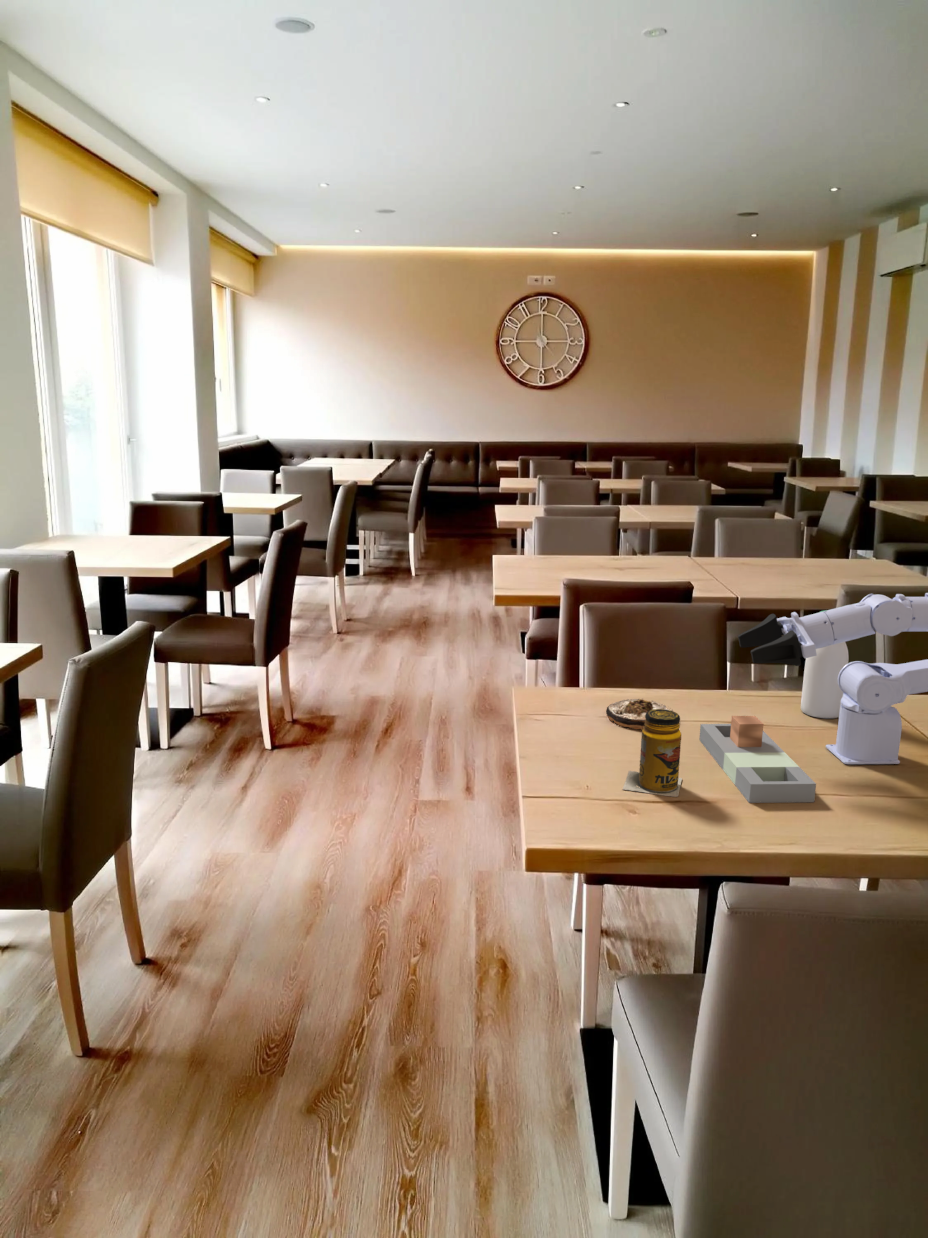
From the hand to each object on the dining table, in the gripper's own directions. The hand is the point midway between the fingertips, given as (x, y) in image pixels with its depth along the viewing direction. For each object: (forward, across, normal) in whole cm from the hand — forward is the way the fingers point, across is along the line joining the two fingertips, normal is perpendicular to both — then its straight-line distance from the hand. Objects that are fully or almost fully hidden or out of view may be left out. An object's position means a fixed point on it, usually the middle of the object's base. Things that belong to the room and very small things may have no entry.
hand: (745, 649), depth 156 cm
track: (+4, +8, +18) cm, 20 cm away
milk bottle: (-16, -20, +26) cm, 36 cm away
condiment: (+21, +15, +12) cm, 29 cm away
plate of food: (+19, -16, +16) cm, 29 cm away
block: (+4, +4, +15) cm, 16 cm away
